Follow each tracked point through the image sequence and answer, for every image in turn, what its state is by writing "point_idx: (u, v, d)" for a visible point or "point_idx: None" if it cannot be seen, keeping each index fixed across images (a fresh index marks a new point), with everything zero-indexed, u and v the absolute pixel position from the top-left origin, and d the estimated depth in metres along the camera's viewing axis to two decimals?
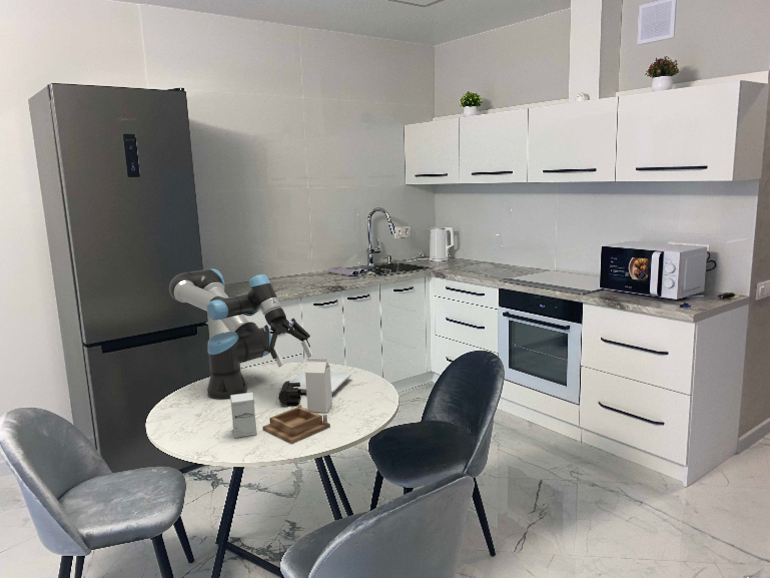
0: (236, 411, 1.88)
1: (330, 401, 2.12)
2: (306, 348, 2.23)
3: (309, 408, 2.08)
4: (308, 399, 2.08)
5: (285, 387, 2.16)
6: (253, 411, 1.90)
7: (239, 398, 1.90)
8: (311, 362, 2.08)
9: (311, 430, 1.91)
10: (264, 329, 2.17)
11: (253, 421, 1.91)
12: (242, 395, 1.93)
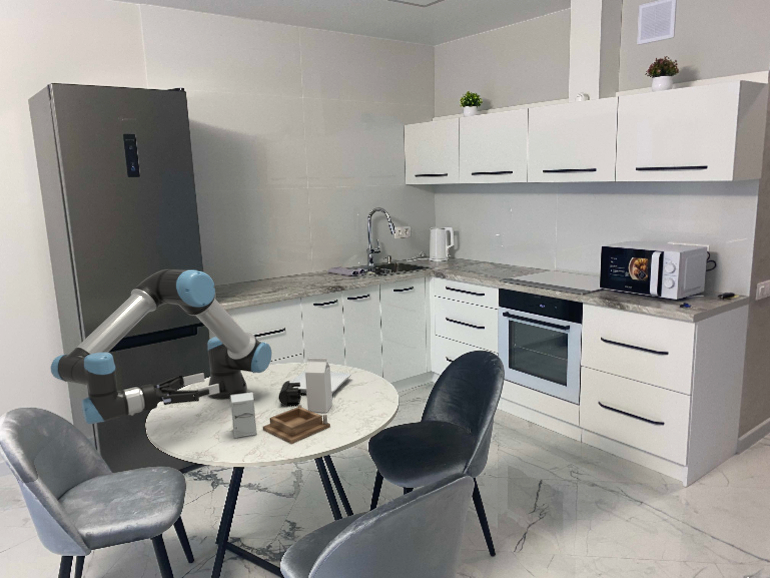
0: (236, 411, 1.88)
1: (330, 401, 2.12)
2: None
3: (309, 408, 2.08)
4: (308, 399, 2.08)
5: (285, 387, 2.16)
6: (253, 411, 1.90)
7: (239, 398, 1.90)
8: (311, 362, 2.08)
9: (311, 430, 1.91)
10: None
11: (253, 421, 1.91)
12: (242, 395, 1.93)
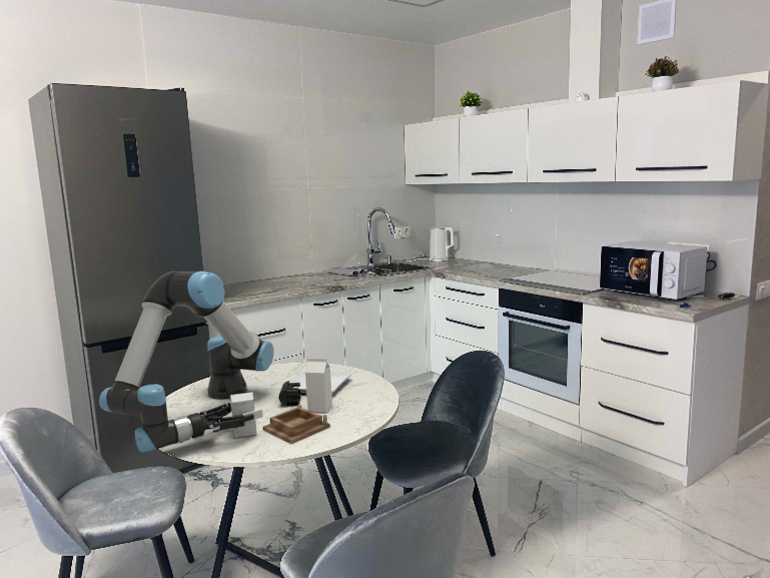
0: (236, 411, 1.88)
1: (330, 401, 2.12)
2: None
3: (309, 408, 2.08)
4: (308, 399, 2.08)
5: (285, 387, 2.16)
6: None
7: (239, 398, 1.90)
8: (311, 362, 2.08)
9: (311, 430, 1.91)
10: None
11: (253, 421, 1.91)
12: (242, 395, 1.93)
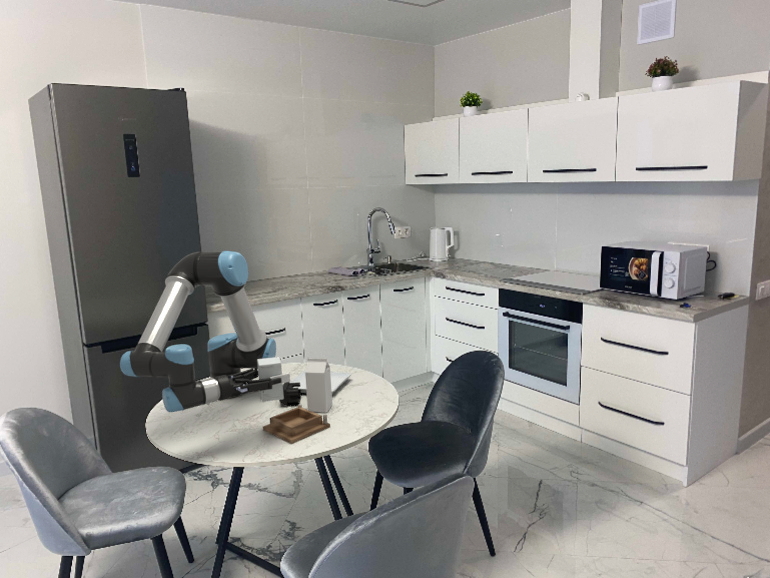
0: (263, 374, 1.85)
1: (330, 401, 2.12)
2: None
3: (309, 408, 2.08)
4: (308, 399, 2.08)
5: (285, 387, 2.16)
6: None
7: (267, 362, 1.87)
8: (311, 362, 2.08)
9: (311, 430, 1.91)
10: None
11: (280, 385, 1.88)
12: (269, 359, 1.90)
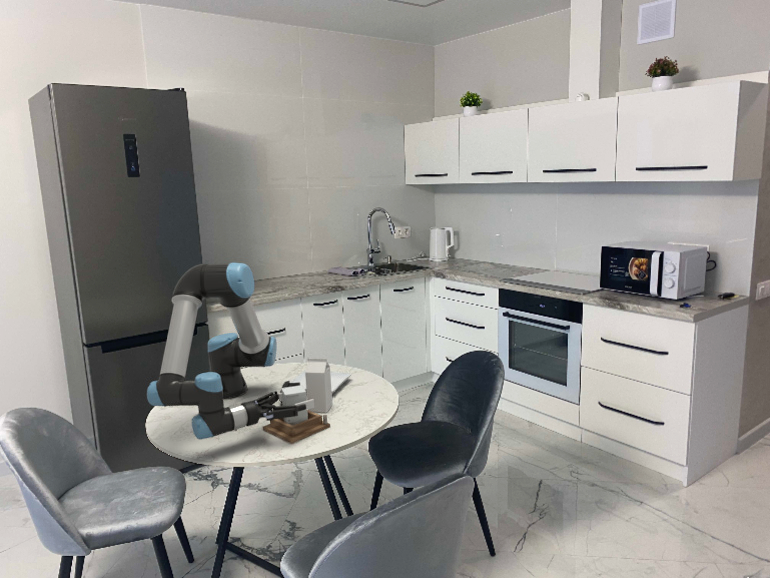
0: (289, 403, 1.89)
1: (330, 401, 2.12)
2: None
3: None
4: (308, 399, 2.08)
5: (285, 387, 2.16)
6: None
7: (291, 391, 1.91)
8: (311, 362, 2.08)
9: (311, 430, 1.91)
10: None
11: (305, 413, 1.92)
12: (293, 388, 1.94)
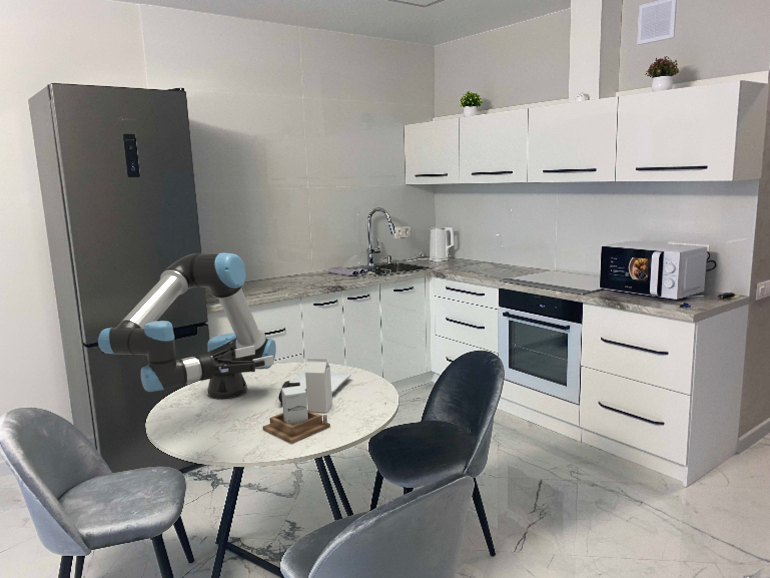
0: (289, 403, 1.89)
1: (330, 401, 2.12)
2: None
3: (309, 408, 2.08)
4: (308, 399, 2.08)
5: (285, 387, 2.16)
6: (305, 404, 1.91)
7: (292, 391, 1.91)
8: (311, 362, 2.08)
9: (311, 430, 1.91)
10: None
11: (305, 414, 1.92)
12: (293, 388, 1.94)
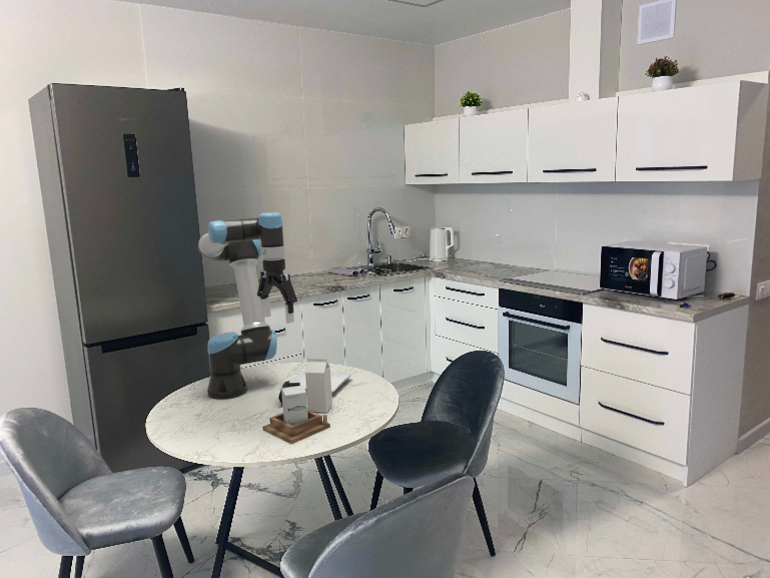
0: (289, 403, 1.89)
1: (330, 401, 2.12)
2: None
3: (309, 408, 2.08)
4: (308, 399, 2.08)
5: (285, 387, 2.16)
6: (305, 404, 1.91)
7: (292, 391, 1.91)
8: (311, 362, 2.08)
9: (311, 430, 1.91)
10: None
11: (305, 414, 1.92)
12: (293, 388, 1.94)
